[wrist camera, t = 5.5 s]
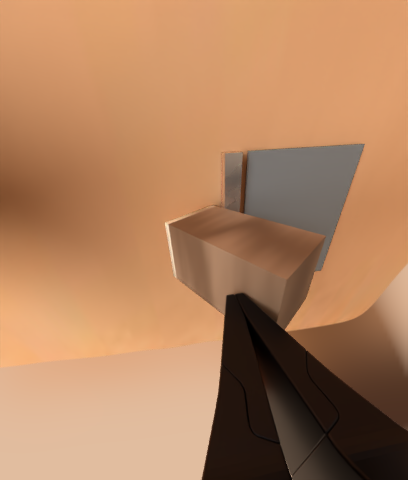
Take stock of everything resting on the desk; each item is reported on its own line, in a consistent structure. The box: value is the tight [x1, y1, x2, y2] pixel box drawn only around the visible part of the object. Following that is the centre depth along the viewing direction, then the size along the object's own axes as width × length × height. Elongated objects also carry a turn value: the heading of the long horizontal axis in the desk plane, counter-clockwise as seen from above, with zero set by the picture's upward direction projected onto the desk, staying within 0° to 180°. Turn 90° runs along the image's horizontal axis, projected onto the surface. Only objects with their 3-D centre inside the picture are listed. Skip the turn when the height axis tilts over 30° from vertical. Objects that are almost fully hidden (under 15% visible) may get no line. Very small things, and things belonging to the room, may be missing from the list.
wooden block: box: [165, 205, 326, 330], centre depth 11 cm, size 4×4×8 cm
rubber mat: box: [244, 144, 365, 271], centre depth 16 cm, size 9×12×1 cm
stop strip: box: [222, 152, 243, 212], centre depth 15 cm, size 1×12×1 cm, turn 3°
